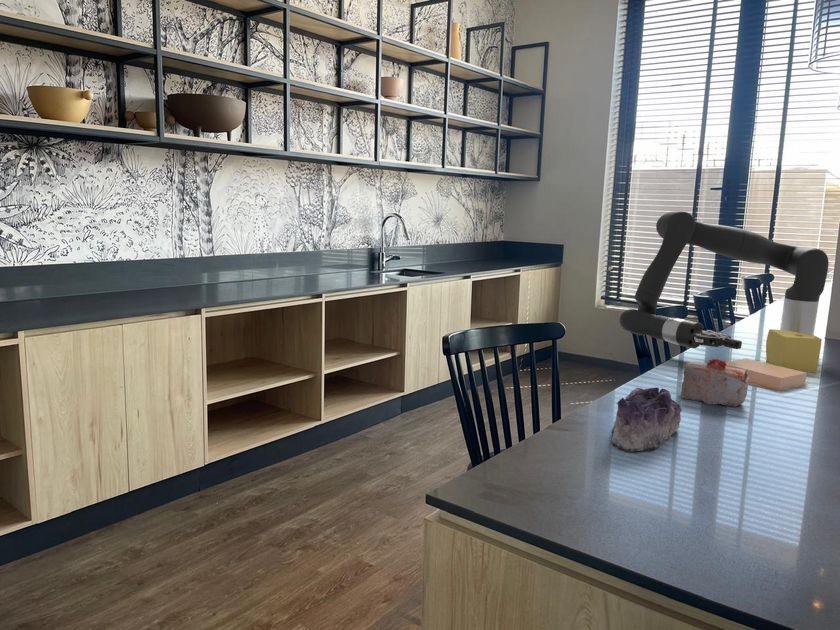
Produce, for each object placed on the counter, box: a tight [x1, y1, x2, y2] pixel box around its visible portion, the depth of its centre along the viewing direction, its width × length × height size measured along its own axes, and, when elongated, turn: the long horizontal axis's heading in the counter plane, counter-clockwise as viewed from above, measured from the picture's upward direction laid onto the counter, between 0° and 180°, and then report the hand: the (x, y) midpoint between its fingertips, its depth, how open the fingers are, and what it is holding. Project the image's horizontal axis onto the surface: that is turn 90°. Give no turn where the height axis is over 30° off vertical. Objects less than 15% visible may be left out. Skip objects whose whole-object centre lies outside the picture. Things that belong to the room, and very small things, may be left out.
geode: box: [611, 386, 683, 454], centre depth 120 cm, size 20×12×10 cm, turn 147°
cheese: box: [765, 329, 822, 373], centre depth 181 cm, size 10×11×10 cm
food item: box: [680, 358, 750, 408], centre depth 146 cm, size 14×8×10 cm, turn 63°
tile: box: [724, 358, 808, 391], centre depth 166 cm, size 12×3×16 cm
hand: (740, 345), depth 170 cm, fingers closed
